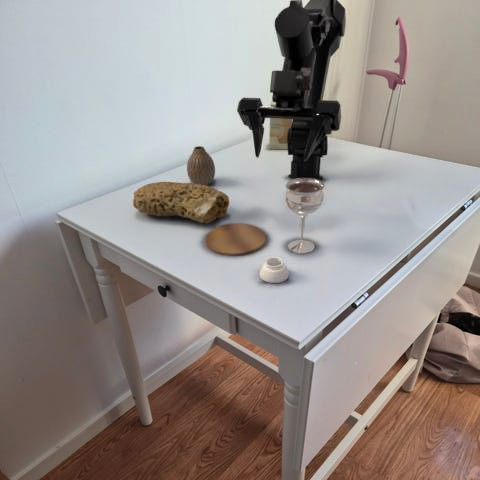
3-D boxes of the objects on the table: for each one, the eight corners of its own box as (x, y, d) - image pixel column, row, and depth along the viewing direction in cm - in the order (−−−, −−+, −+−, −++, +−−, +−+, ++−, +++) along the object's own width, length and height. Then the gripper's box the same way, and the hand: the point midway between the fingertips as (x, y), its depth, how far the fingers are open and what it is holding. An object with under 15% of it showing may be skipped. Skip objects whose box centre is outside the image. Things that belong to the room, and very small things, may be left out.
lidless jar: (273, 265, 76) (253, 277, 73) (273, 251, 74) (253, 262, 71) (294, 275, 73) (275, 288, 70) (295, 261, 71) (275, 273, 68)
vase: (217, 178, 109) (215, 142, 103) (214, 188, 103) (210, 152, 98) (191, 178, 109) (187, 143, 104) (186, 189, 104) (181, 152, 98)
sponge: (233, 216, 94) (165, 182, 100) (234, 187, 88) (161, 152, 94) (196, 250, 88) (126, 212, 94) (194, 222, 81) (119, 182, 88)
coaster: (247, 220, 90) (247, 218, 89) (277, 244, 81) (277, 242, 81) (195, 235, 86) (195, 233, 85) (222, 262, 77) (222, 259, 77)
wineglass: (278, 252, 79) (279, 190, 71) (289, 235, 84) (291, 175, 76) (314, 258, 77) (319, 195, 69) (323, 240, 82) (329, 180, 74)
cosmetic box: (268, 149, 124) (268, 104, 116) (270, 144, 127) (270, 100, 120) (290, 149, 123) (292, 103, 115) (291, 145, 126) (293, 100, 119)
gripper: (237, 47, 73) (220, 133, 73) (346, 46, 68) (328, 140, 68) (252, 86, 84) (237, 162, 84) (347, 88, 79) (332, 169, 79)
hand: (280, 158), depth 78 cm, fingers open, 9 cm apart
